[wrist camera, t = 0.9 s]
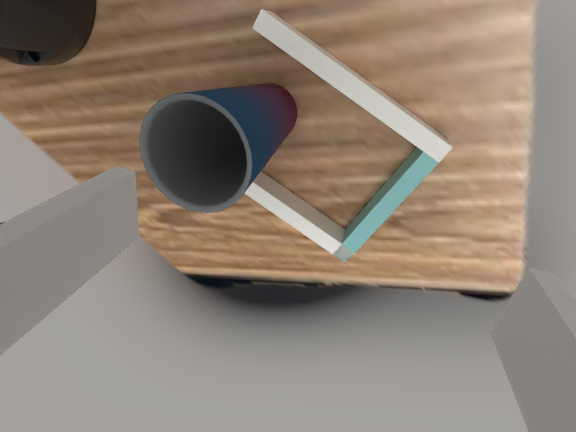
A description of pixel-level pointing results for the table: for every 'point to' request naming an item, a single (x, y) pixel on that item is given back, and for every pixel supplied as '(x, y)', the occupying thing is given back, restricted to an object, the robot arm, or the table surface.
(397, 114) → the bay
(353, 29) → the table surface
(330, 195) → the table surface
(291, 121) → the cup
